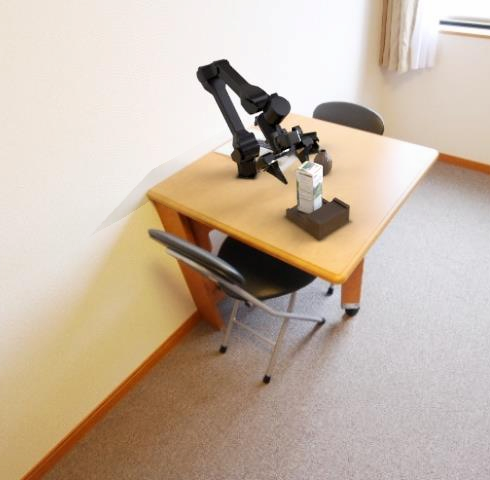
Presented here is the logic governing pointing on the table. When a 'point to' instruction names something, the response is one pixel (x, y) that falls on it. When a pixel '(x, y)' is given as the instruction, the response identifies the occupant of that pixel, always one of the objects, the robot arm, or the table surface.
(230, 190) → the table surface
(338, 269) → the table surface
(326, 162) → the vase
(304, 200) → the syrup box
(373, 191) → the table surface
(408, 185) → the table surface
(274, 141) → the robot arm
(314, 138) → the end cap
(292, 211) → the dark brown boxy piece
